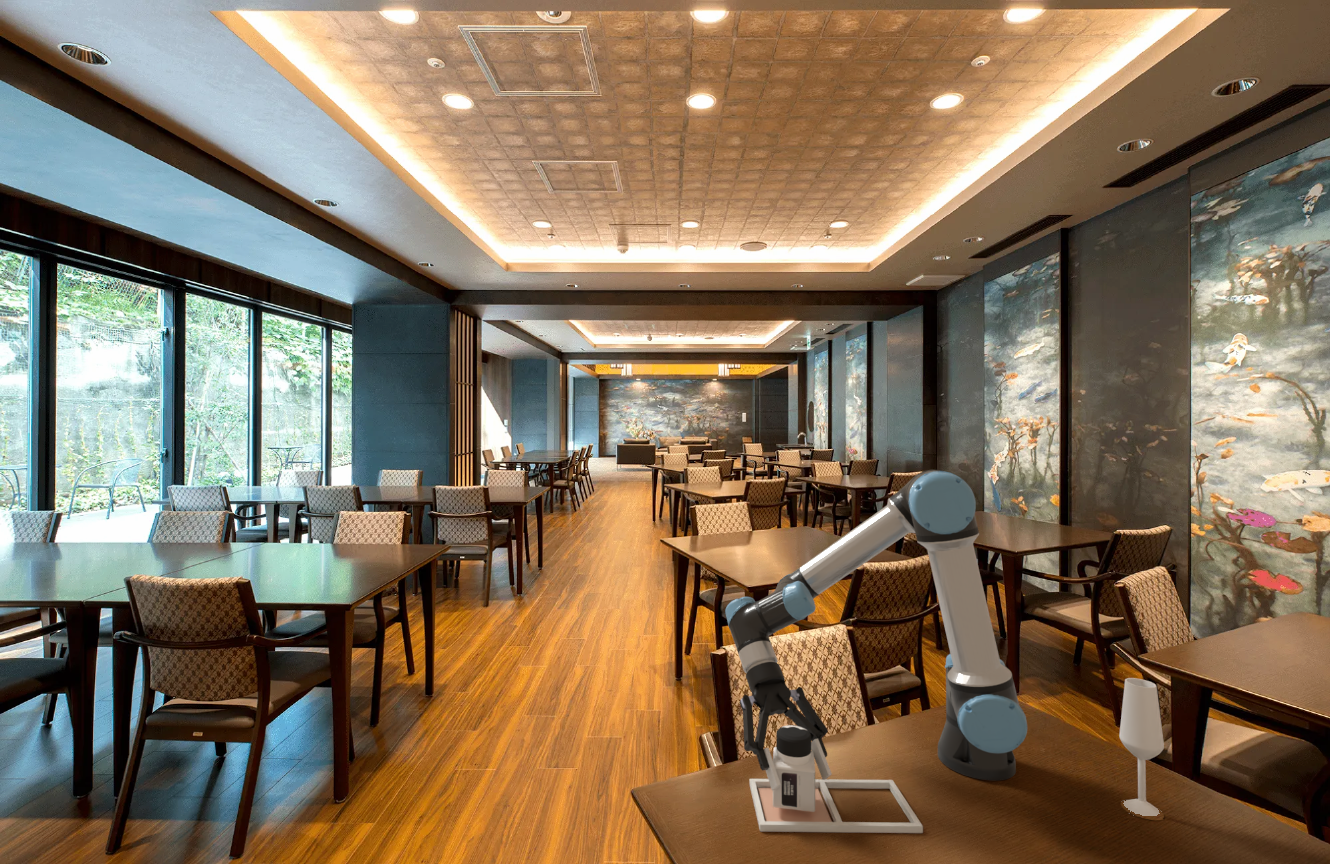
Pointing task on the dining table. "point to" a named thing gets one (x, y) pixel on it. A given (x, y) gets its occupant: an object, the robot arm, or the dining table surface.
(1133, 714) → the champagne flute
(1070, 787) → the dining table surface
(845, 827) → the bay frame
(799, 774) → the container
